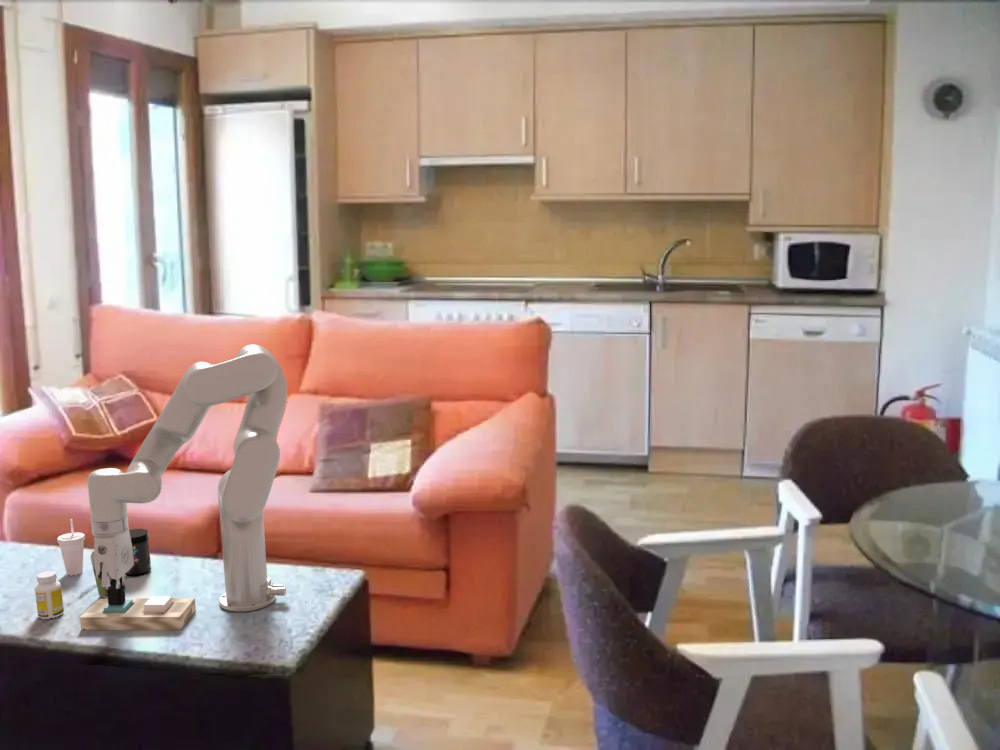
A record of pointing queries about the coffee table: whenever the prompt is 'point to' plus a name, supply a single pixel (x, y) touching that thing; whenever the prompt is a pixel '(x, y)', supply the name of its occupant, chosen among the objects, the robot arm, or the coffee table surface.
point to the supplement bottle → (48, 595)
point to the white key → (158, 604)
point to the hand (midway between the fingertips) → (117, 603)
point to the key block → (138, 616)
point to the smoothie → (72, 551)
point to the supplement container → (140, 553)
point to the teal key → (119, 607)
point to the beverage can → (101, 590)
